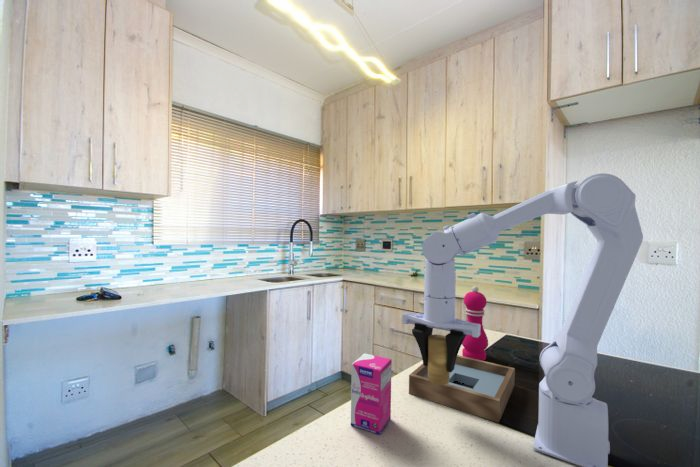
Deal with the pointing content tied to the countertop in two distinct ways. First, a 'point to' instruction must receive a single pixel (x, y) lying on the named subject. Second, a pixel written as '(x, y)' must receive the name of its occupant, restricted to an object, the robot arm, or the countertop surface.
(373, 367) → the supplement box
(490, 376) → the bore plate
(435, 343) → the peg
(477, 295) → the pepper mill
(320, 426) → the countertop surface
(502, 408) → the tray
